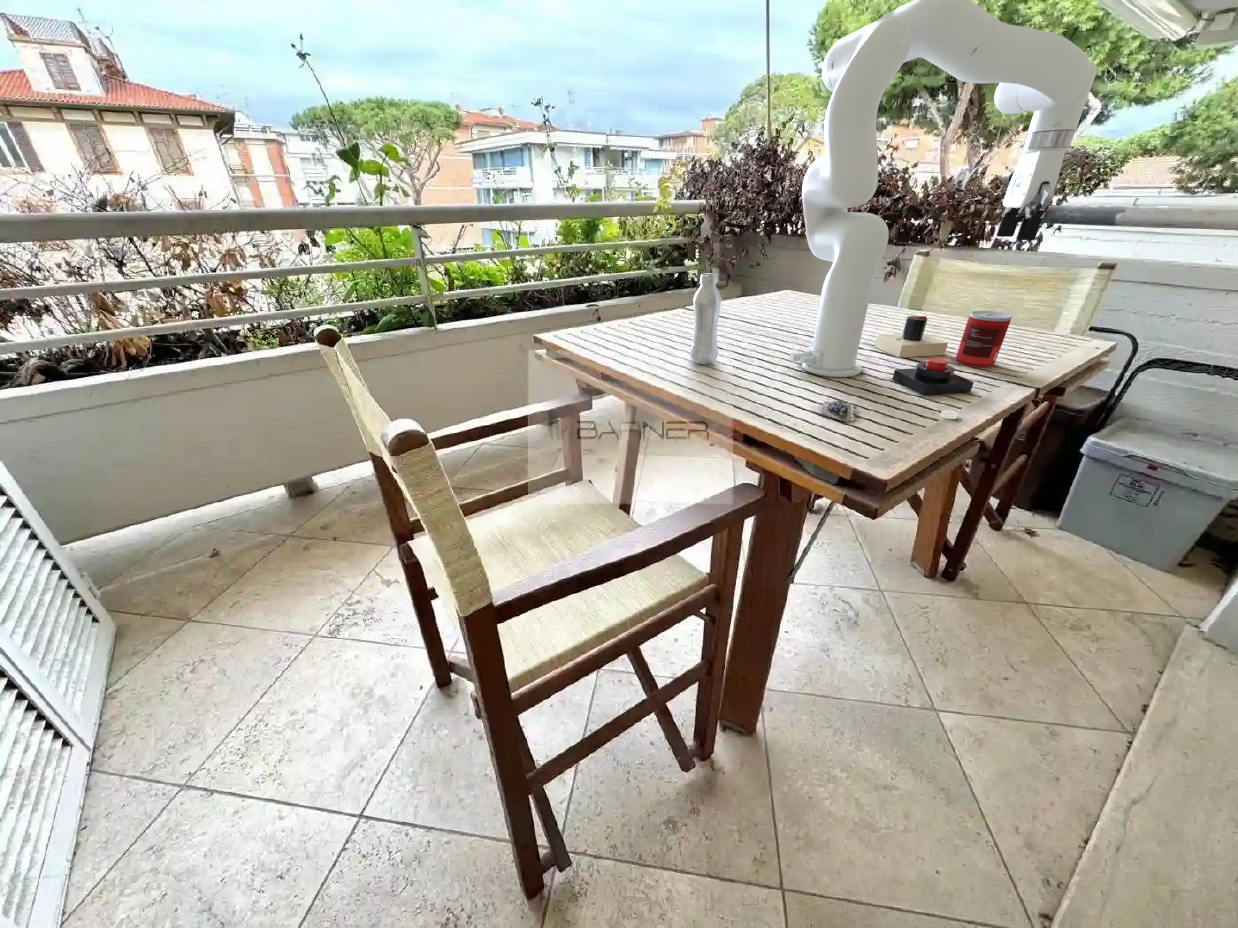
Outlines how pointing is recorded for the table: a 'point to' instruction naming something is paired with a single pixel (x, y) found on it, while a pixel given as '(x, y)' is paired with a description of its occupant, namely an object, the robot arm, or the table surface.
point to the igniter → (932, 380)
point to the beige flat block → (910, 345)
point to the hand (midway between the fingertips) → (1014, 238)
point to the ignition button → (936, 364)
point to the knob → (914, 328)
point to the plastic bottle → (706, 320)
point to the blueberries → (839, 410)
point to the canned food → (982, 338)
